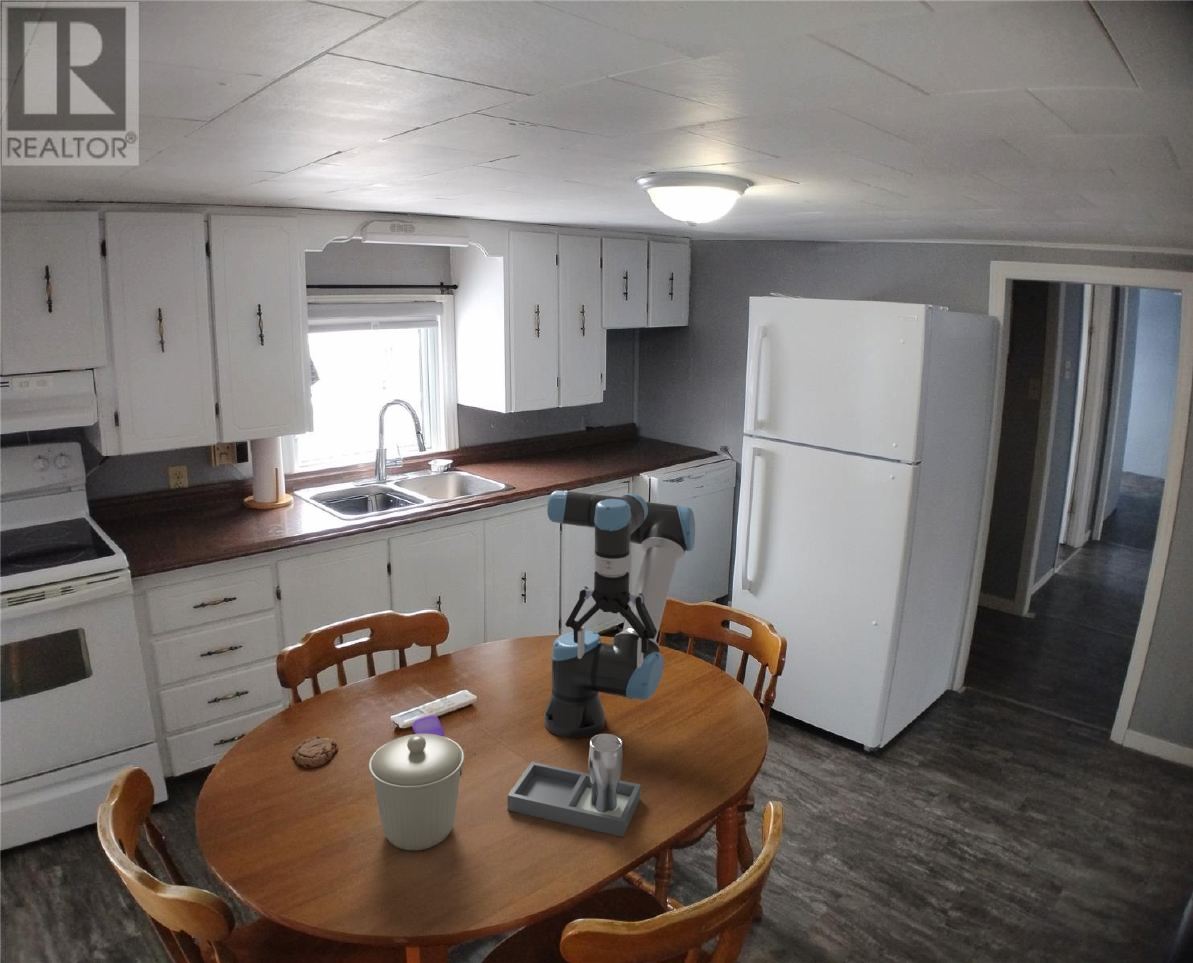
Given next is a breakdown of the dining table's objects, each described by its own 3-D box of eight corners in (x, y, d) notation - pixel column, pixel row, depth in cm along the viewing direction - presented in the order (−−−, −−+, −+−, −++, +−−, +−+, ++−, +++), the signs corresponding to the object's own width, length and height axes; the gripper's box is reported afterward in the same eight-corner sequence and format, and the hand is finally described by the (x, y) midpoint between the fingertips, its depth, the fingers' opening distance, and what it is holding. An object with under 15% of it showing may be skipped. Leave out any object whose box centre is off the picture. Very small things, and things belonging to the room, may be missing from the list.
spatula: (471, 772, 181) (471, 762, 180) (442, 781, 177) (442, 771, 177) (436, 722, 201) (436, 713, 200) (409, 729, 197) (409, 720, 197)
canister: (416, 794, 172) (413, 704, 167) (483, 823, 163) (483, 730, 158) (352, 842, 157) (346, 745, 152) (422, 877, 148) (419, 775, 143)
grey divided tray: (507, 809, 167) (507, 795, 167) (531, 775, 179) (531, 761, 179) (623, 837, 160) (623, 821, 159) (640, 799, 172) (640, 784, 171)
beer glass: (596, 820, 163) (598, 754, 159) (581, 801, 169) (583, 736, 166) (626, 811, 166) (629, 746, 162) (611, 792, 172) (613, 729, 169)
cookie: (295, 773, 178) (294, 761, 178) (291, 748, 188) (290, 737, 187) (342, 763, 183) (341, 751, 182) (335, 739, 192) (334, 728, 191)
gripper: (551, 570, 173) (551, 659, 179) (665, 584, 166) (661, 676, 172) (562, 558, 180) (562, 644, 186) (672, 571, 173) (668, 660, 179)
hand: (610, 660), depth 179 cm, fingers open, 13 cm apart
